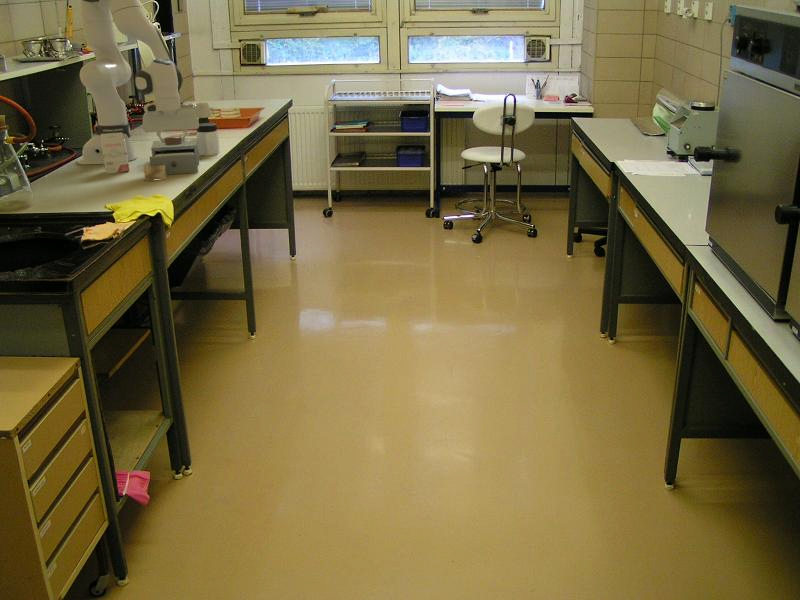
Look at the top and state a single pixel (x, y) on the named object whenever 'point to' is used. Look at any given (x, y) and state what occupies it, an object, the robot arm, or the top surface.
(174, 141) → the puck
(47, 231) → the top surface
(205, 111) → the character mug
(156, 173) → the block
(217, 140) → the jar
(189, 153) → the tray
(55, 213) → the top surface
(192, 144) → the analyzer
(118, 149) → the ink cartridge box
